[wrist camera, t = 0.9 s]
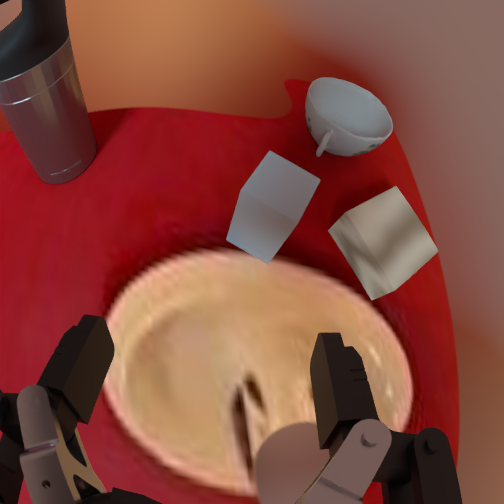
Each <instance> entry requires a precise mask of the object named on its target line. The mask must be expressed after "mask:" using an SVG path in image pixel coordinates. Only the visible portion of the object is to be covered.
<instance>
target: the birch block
mask: <svg viewBox="0 0 504 504" xmlns="http://www.w3.org/2000/svg"><path fill="white" fill-rule="evenodd" d="M328 231H329V233H330V234H331V236H332V237H333V239H334V240H335V242H336V244H337V245H338V247H339V248H340V250H341V251H342V253H343V254H344V256H345V258H346V259H347V261H348V262H349V264H350V266H351V267H352V269H353V270H354V272H355V274H356V275H357V277H358V278H359V280H360V282H361V283H362V285H363V287H364V288H365V290H366V292H367V293H368V295H369V297H370V298H371V300H374V299H376V298H379V297H381V296H383V295H385V294H388V293H390V292H392V291H394V290H396V289H397V288H398V287H399V286H400V285H402V284H403V283H404V282H405V281H406V280H407V279H409V278H410V277H411V276H412V275H413V274H414V273H415V272H416V271H418V270H419V269H420V268H421V267H422V266H423V265H424V264H425V263H426V262H427V261H428V260H430V259H431V258H432V257H433V256H434V255H435V254H436V253H437V252H438V249H437V247H436V246H435V244H434V242H433V241H432V239H431V237H430V236H429V234H428V233H427V231H426V229H425V228H424V226H423V225H422V223H421V222H420V220H419V218H418V217H417V215H416V214H415V212H414V211H413V209H412V208H411V206H410V205H409V203H408V202H407V201H406V199H405V198H404V196H403V195H402V193H401V192H400V191H399V189H398V188H397V186H395V187H393V188H391V189H389V190H387V191H385V192H383V193H382V194H380V195H378V196H376V197H374V198H372V199H370V200H368V201H366V202H364V203H362V204H360V205H358V206H356V207H354V208H352V209H351V210H349V211H347V212H345V213H344V214H343V215H342V216H341V217H340V218H339V219H338V220H337V221H336V222H335V224H334V225H333V226H332V227H331V228H330V229H329V230H328Z"/></svg>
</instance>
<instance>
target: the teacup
mask: <svg viewBox="0 0 504 504" xmlns="http://www.w3.org/2000/svg"><path fill="white" fill-rule="evenodd" d="M305 117H306V121H307V125H308V128H309V131H310V133H311V135H312V136H313V138H314V139H315V141H316V142H317V143H318V145H319V147H318V149H317V151H316V156H317V157H320V156H321V154H322V152H323V151H324V150H325V151H327V152H329V153H331V154H334V155H340V156H357V155H361V154H364V153H367V152H369V151H371V150H373V149H374V148H376V147H377V146H379V145H380V144H381V143H383V142H384V141H385V140H386V139H387V138H388V137H389V135H390V134H391V133H392V130H393V124H392V119H391V117H390V116H389V114H388V112H387V109H386V107H385V106H384V105H383V104H381V102H380V100H378V99H377V98H376V97H375V96H374V95H373V94H372V93H370V92H369V91H367V90H365V89H363V88H361V87H359V86H357V85H355V84H353V83H350V82H348V81H344V80H339V79H336V78H319V79H316V80H315V81H313V82H312V84H311V85H310V87H309V89H308V92H307V96H306V102H305Z"/></svg>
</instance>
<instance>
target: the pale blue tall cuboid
mask: <svg viewBox="0 0 504 504" xmlns="http://www.w3.org/2000/svg"><path fill="white" fill-rule="evenodd" d="M319 182H320V179H319V178H317V177H315V176H314V175H312V174H310V173H309V172H307V171H305V170H304V169H302V168H300V167H298V166H297V165H295V164H293V163H291V162H290V161H288V160H286V159H284V158H283V157H281V156H279V155H277V154H275V153H273V152H272V151H269V152H268V153H267V155H266V156H265V157H264V159H263V160H262V161H261V163H260V164H259V166H258V167H257V168H256V170H255V171H254V172H253V174H252V175H251V176H250V178H249V179H248V181H247V182H246V183H245V185H244V186H243V188H242V189H241V191H240V194H239V198H238V201H237V204H236V208H235V211H234V215H233V218H232V221H231V225H230V228H229V232H228V235H227V239H226V240H227V241H229V242H231V243H232V244H234V245H236V246H237V247H239V248H241V249H242V250H244V251H246V252H248V253H249V254H251V255H253V256H254V257H256V258H258V259H259V260H261V261H263V262H265V263H266V264H268V263H269V262H270V261H271V259H272V258H273V257H274V255H275V254H276V253H277V251H278V250H279V248H280V247H281V246H282V244H283V243H284V242H285V240H286V239H287V238H288V236H289V235H290V234H291V232H292V231H293V229H294V228H295V227H296V225H297V224H298V223H299V221H300V219H301V217H302V215H303V213H304V211H305V209H306V207H307V205H308V204H309V202H310V200H311V198H312V196H313V194H314V192H315V190H316V188H317V186H318V184H319Z"/></svg>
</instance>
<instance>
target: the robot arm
mask: <svg viewBox="0 0 504 504" xmlns="http://www.w3.org/2000/svg"><path fill="white" fill-rule="evenodd" d="M7 1H9V0H0V4H3V3H5V2H7ZM0 107H1V109H2V111H3V113H4V115H5V117H6V119H7V121H8V123H9V125H10V127H11V129H12V131H13V133H14V135H15V136H16V138H17V140H18V142H19V144H20V145H21V147H22V149H23V151H24V152H25V154H26V156H27V158H28V159H29V161H30V163H31V164H32V166H33V168H34V169H35V171H36V173H37V174H38V176H39V177H40V178H41V179H42V180H43V181H44V182H46V183H50V184H60V183H65V182H67V181H70V180H72V179H74V178H75V177H77V176H79V175H80V174H81V173H82V172H84V171H85V170H86V168H87V167H88V166H89V165H90V164H91V162H92V161H93V159H94V156H95V154H96V149H97V145H96V140H95V137H94V134H93V130H92V127H91V124H90V120H89V116H88V113H87V109H86V105H85V102H84V98H83V94H82V90H81V86H80V82H79V78H78V74H77V69H76V65H75V60H74V56H73V51H72V46H71V41H70V37H69V30H68V25H67V17H66V6H65V0H22V11H21V13H20V14H19V15H18V16H17V18H15V19H14V20H13V21H12V22H11V23H10V24H9V25H7V26H6V27H5V28H4V29H3V30H2V31H0ZM113 357H114V343H113V340H112V338H111V335H110V332H109V330H108V327H107V324H106V321H105V319H104V318H103V317H100V316H93V315H84V316H83V317H82V319H81V320H80V322H79V324H78V326H73V327H71V328H70V329H69V330H68V331H67V332H66V333H65V334H64V335H63V337H62V339H61V340H60V342H59V346H57V347H56V349H55V351H54V354H53V355H52V356H51V358H50V360H49V362H48V364H47V366H46V367H45V369H44V371H43V373H42V375H41V377H40V379H39V381H38V383H37V384H36V385H30V386H27V387H25V388H24V389H23V390H22V391H21V392H20V394H17V393H3V392H2V391H1V389H0V430H1V431H2V432H3V435H2V437H1V440H0V504H18V499H19V495H20V490H21V486H22V482H23V478H25V481H26V485H27V488H28V491H29V494H30V497H31V500H32V503H33V504H162V503H159V502H157V501H155V500H153V499H150V498H148V497H146V496H144V495H141V494H137V493H133V492H129V491H125V490H121V489H118V488H114V487H113V489H112V492H106V490H105V488H104V486H103V484H102V483H101V481H100V479H99V478H98V477H97V475H96V474H95V473H94V471H93V469H92V467H91V465H90V463H89V460H88V458H87V455H86V453H85V450H84V447H83V445H82V442H81V439H80V436H79V434H78V431H77V429H76V426H77V423H78V422H81V423H84V424H87V425H88V423H89V420H90V417H91V414H92V411H93V409H94V406H95V403H96V400H97V398H98V395H99V392H100V390H101V387H102V385H103V382H104V380H105V377H106V374H107V372H108V369H109V367H110V365H111V362H112V360H113ZM310 376H311V383H312V390H313V398H314V405H315V413H316V421H317V429H318V437H319V446H320V449H329V454H330V458H329V459H328V461H327V462H326V464H325V465H324V467H323V468H322V469H321V471H320V472H319V473H318V475H317V476H316V477H315V479H314V480H313V481H312V483H311V484H310V485H309V487H308V488H307V489H306V491H305V492H304V493H303V494H302V496H301V497H300V498H299V499H298V500H297V502H295V504H362V502H363V500H362V497H363V495H364V493H365V491H366V490H367V488H368V486H369V485H370V483H371V481H372V482H380V483H381V484H382V494H383V504H462V498H461V493H460V488H459V483H458V478H457V473H456V469H455V464H454V460H453V456H452V452H451V448H450V444H449V441H448V438H447V436H446V435H445V433H443V432H442V431H441V430H439V429H437V428H426V429H423V430H422V431H420V432H419V433H418V434H408V433H401V432H395V431H392V430H390V429H388V427H387V426H386V425H385V424H384V423H382V422H381V421H380V420H379V418H378V415H377V411H376V408H375V404H374V400H373V396H372V393H371V389H370V385H369V382H368V381H367V375H366V371H365V368H364V365H363V361H362V358H361V356H360V355H359V354H358V352H357V351H356V350H355V349H354V347H353V346H350V347H344V344H343V340H342V337H341V334H340V333H319V334H318V336H317V340H316V343H315V347H314V350H313V354H312V357H311V362H310Z"/></svg>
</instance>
